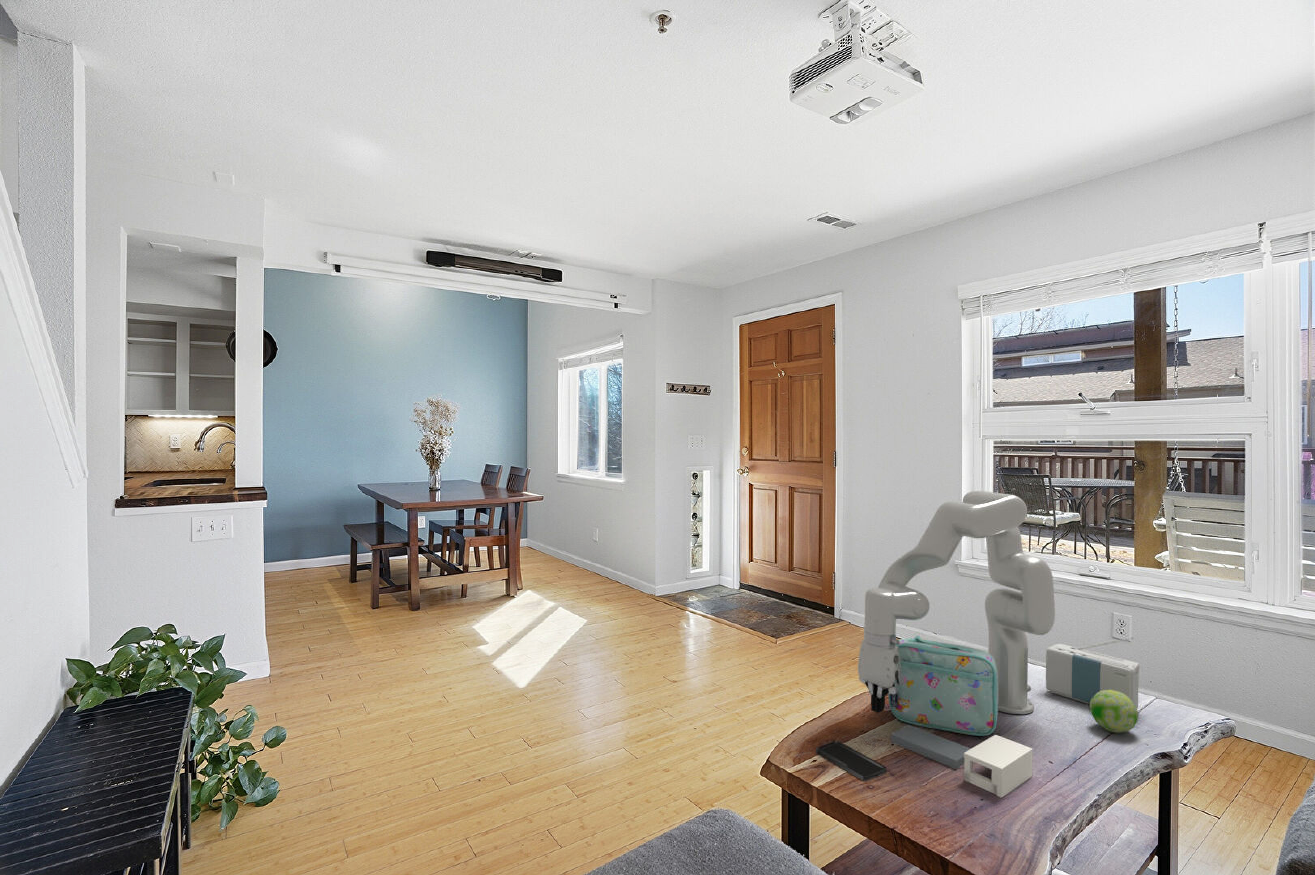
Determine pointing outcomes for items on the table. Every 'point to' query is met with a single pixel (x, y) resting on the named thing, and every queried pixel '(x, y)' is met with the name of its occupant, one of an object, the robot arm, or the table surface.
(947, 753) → the slate board
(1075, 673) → the stereo radio cassette player
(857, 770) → the phone
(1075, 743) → the table surface
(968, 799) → the table surface
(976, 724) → the lunch box
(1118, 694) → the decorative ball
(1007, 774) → the white hollow box
